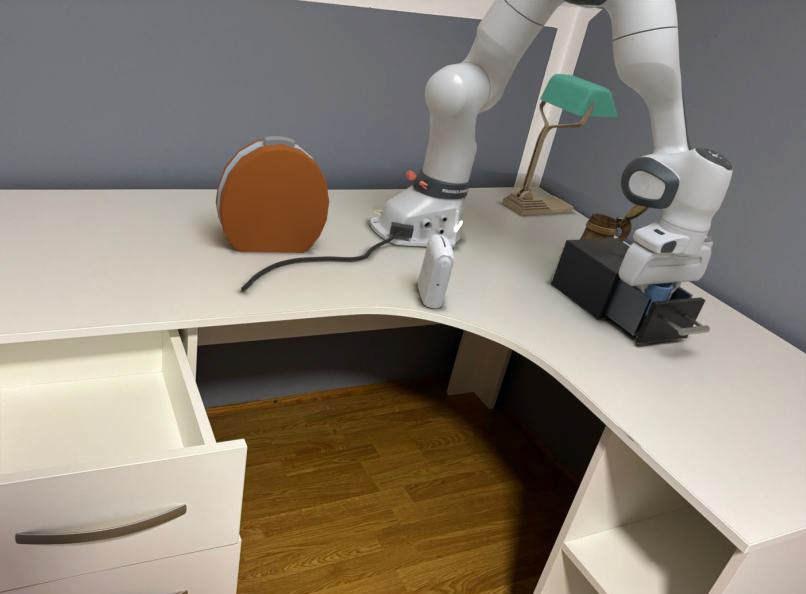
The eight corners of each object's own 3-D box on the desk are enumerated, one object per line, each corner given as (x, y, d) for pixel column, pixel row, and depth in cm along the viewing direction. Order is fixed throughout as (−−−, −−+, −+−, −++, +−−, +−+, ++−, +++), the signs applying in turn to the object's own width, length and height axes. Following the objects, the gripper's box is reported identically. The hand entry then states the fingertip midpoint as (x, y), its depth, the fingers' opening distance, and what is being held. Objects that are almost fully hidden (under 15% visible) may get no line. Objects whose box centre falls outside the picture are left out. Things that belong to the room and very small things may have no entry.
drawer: (708, 353, 137) (728, 314, 132) (660, 359, 131) (679, 319, 127) (636, 302, 152) (652, 266, 147) (589, 306, 146) (604, 269, 141)
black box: (648, 314, 150) (668, 270, 144) (597, 319, 143) (616, 273, 138) (599, 280, 161) (616, 238, 156) (550, 283, 155) (566, 239, 150)
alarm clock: (310, 233, 157) (325, 132, 145) (322, 252, 149) (339, 148, 137) (211, 230, 149) (218, 124, 137) (218, 251, 141) (226, 140, 130)
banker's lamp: (493, 198, 199) (530, 70, 181) (546, 196, 209) (586, 74, 191) (530, 221, 188) (573, 87, 170) (584, 217, 198) (630, 90, 180)
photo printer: (443, 310, 136) (459, 252, 129) (422, 307, 135) (437, 249, 129) (435, 285, 144) (449, 230, 138) (415, 283, 144) (428, 227, 137)
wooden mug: (628, 277, 166) (658, 205, 156) (571, 263, 167) (597, 191, 158) (623, 262, 173) (652, 193, 164) (569, 249, 175) (594, 180, 165)
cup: (626, 304, 142) (638, 276, 139) (645, 302, 145) (658, 274, 141) (645, 318, 138) (658, 289, 135) (665, 316, 141) (679, 287, 137)
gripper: (703, 228, 140) (674, 289, 147) (628, 231, 131) (602, 295, 138) (728, 242, 135) (698, 304, 142) (652, 245, 126) (624, 311, 134)
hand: (650, 300), depth 140 cm, fingers closed on cup, 5 cm apart
